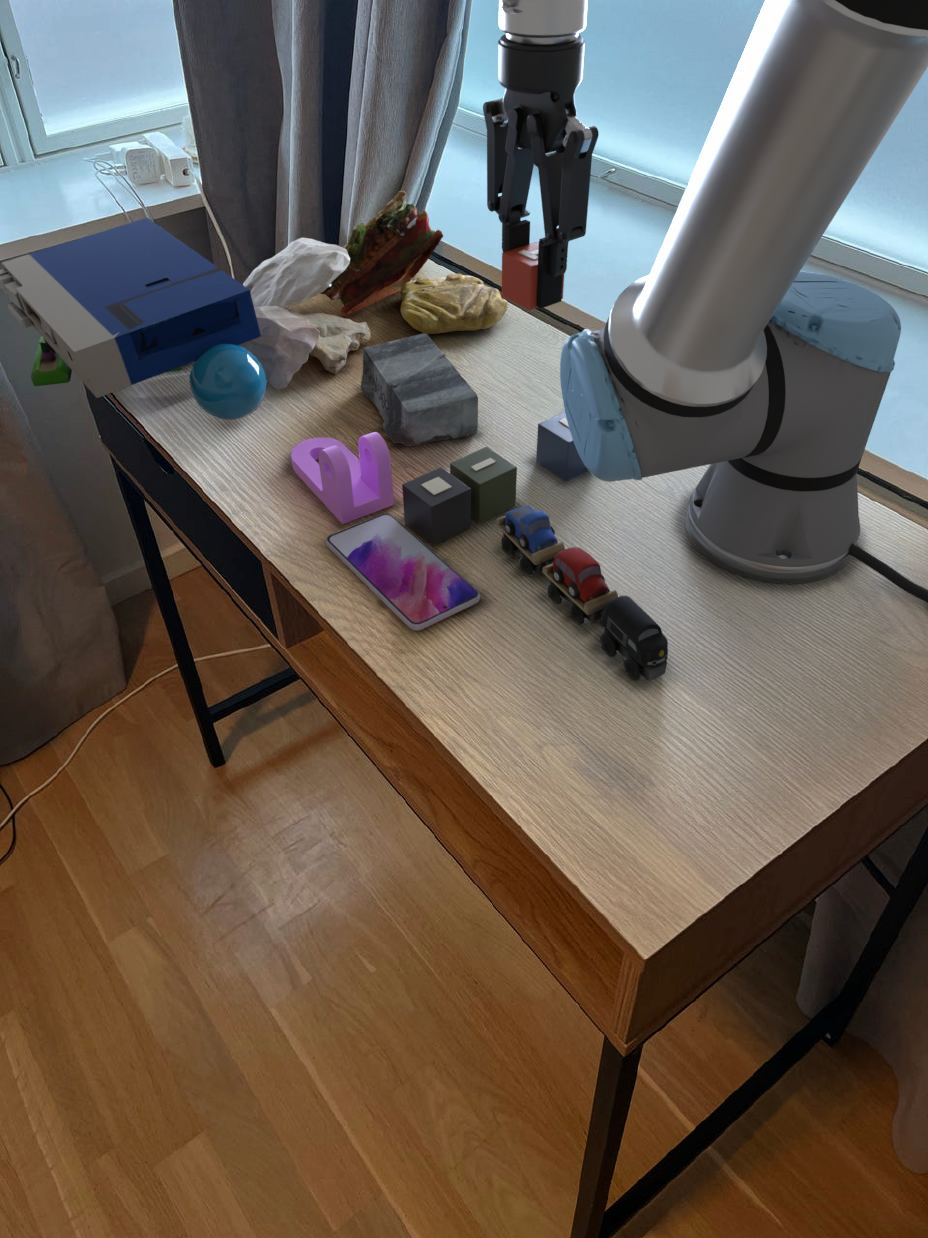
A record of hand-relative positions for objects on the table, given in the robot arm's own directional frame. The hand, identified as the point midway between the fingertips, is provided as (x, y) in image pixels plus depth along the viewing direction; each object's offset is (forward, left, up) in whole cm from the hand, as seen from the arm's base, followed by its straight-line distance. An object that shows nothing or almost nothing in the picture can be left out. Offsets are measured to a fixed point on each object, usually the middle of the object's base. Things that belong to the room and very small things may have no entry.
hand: (532, 294), depth 99 cm
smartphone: (-15, +28, -12) cm, 34 cm away
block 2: (-12, +16, -12) cm, 23 cm away
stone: (+24, +10, -12) cm, 29 cm away
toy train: (-28, +19, -12) cm, 36 cm away
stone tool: (+18, +17, -9) cm, 27 cm away
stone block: (+6, +11, -12) cm, 18 cm away
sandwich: (+28, -3, -9) cm, 30 cm away
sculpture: (+16, -3, -10) cm, 19 cm away
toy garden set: (+41, +27, -12) cm, 51 cm away
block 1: (-12, +22, -12) cm, 27 cm away
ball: (+20, +30, -10) cm, 37 cm away
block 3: (-12, +5, -12) cm, 18 cm away
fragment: (+33, +8, -9) cm, 35 cm away
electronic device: (+19, +32, -3) cm, 37 cm away
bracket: (0, +25, -12) cm, 28 cm away
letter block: (0, 0, 0) cm, 0 cm away
